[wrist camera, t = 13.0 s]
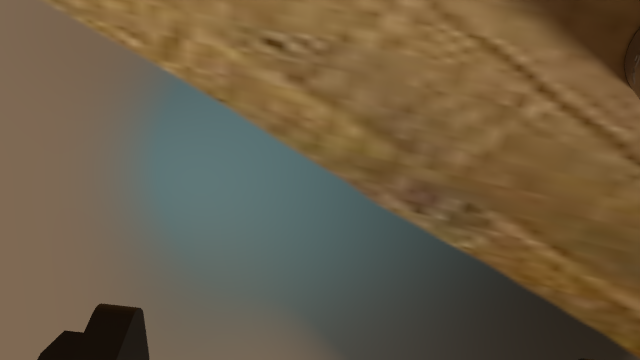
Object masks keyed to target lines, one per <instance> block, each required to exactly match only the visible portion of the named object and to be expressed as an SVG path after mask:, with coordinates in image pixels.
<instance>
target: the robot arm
mask: <svg viewBox="0 0 640 360" xmlns="http://www.w3.org/2000/svg"><path fill="white" fill-rule="evenodd" d="M625 73H626V78H627V80H628V82H629V84H630V86H631V88H632V89H633V91H634V92H635V93H636V95H637V96H638V98H639V99H640V29H639V30H638V31H637V33H636V34H635V36H634V38H633V39H632V41H631V43H630V45H629V47H628V50H627V54H626V57H625ZM38 360H149V352H148V344H147V336H146V329H145V322H144V314H143V310H142V309H141V308H136V307H127V306H118V305H109V304H99V305H98V306H97V307H96V308H95V310H94V312H93V314H92V316H91V318H90V320H89V322H88V325H87V327H86V329H85V331H84V333H82V332H72V331H64V332H63V333H62V334H60V335H59V336H58V337H57V338H56V339H55V340H54V341H53V342H52V343H51V344H50V345H49V346H48V347H47V348H46V349H45V350H44V351H43V352H42V353H41V354H40V356H39V358H38ZM579 360H593V359H584V358H583V359H579Z"/></svg>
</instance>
